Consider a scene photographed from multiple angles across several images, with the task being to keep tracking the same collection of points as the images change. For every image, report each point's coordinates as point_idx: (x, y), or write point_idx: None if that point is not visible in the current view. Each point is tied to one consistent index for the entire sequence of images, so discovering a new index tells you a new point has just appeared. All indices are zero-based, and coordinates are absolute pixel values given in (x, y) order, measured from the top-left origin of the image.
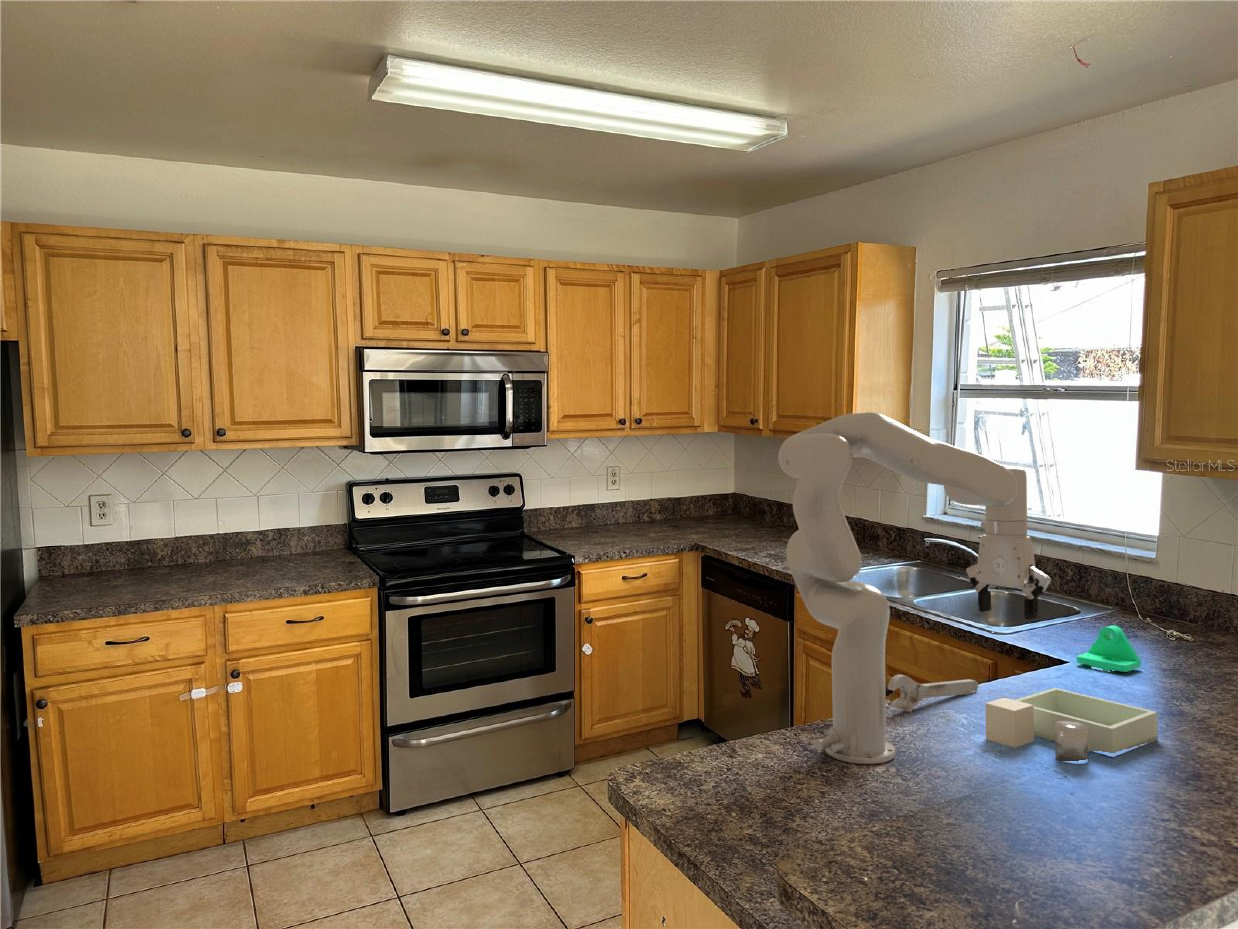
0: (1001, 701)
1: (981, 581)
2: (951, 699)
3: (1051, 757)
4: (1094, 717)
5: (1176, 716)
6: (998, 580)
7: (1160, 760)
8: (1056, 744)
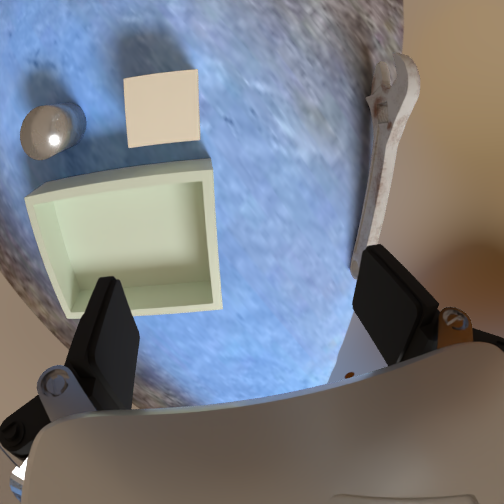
0: (183, 108)
1: (476, 346)
2: (359, 210)
3: (83, 102)
4: (150, 288)
5: (139, 371)
6: (322, 444)
7: (25, 231)
8: (66, 105)
